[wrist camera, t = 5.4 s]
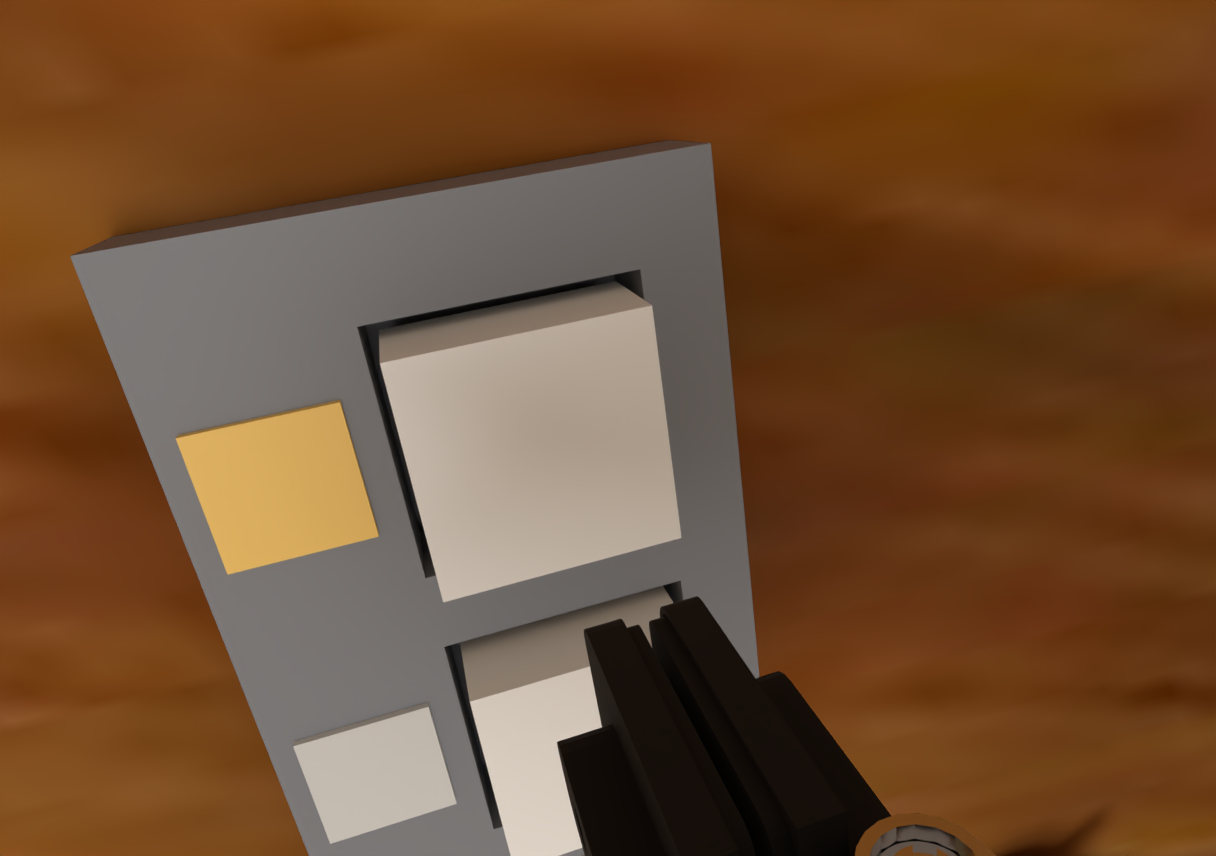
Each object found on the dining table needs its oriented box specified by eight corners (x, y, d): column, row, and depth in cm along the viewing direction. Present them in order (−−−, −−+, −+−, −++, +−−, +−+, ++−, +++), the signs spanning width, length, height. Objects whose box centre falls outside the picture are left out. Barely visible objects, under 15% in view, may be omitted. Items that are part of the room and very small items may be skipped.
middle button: (658, 578, 24) (693, 635, 22) (680, 733, 27) (715, 803, 24) (458, 633, 23) (469, 701, 21) (499, 790, 26) (514, 870, 23)
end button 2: (615, 280, 21) (652, 305, 18) (645, 489, 23) (681, 538, 21) (378, 329, 20) (379, 363, 17) (434, 543, 22) (443, 602, 19)
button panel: (669, 140, 22) (713, 143, 19) (753, 907, 34) (788, 981, 31) (112, 237, 19) (66, 257, 17) (411, 1032, 31) (415, 1127, 28)
